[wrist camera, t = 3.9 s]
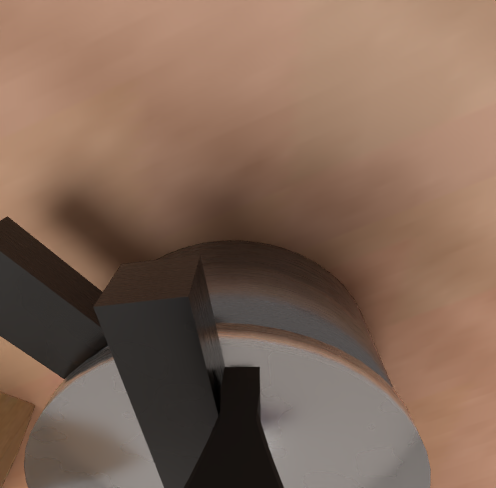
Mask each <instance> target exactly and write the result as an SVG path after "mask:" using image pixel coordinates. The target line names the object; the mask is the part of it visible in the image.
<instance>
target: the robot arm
mask: <svg viewBox="0 0 496 488" xmlns="http://www.w3.org/2000/svg"><path fill="white" fill-rule="evenodd" d="M184 488H284V486H283V484H282V481H281V479H280V476H279V473H278V471H277V468H276V465H275V463H274V460H273V457H272V455H271V452H270V449H269V446H268V443H267V440H266V437H265V433H264V430H263V427H262V424H261V404H260V367H225V368H224V373H223V379H222V385H221V400H220V413H219V416H218V418H217V420H216V423H215V425H214V427H213V430H212V432H211V434H210V437H209V439H208V441H207V443H206V445H205V447H204V449H203V451H202V453H201V455H200V457H199V459H198V461H197V463H196V465H195V467H194V469H193V471H192V473H191V475H190V477H189V479H188V481H187V483H186V484H185V486H184Z"/></svg>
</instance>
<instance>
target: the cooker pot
mask: <svg viewBox="0 0 496 488" xmlns="http://www.w3.org/2000/svg"><path fill="white" fill-rule="evenodd" d="M195 255H200V256H201V260H202V265H203V269H204V274H205V278H206V283H207V287H208V292H209V296H210V301H211V305H212V310H213V314H214V319H215V323H235V324H252V325H258V326H265V327H271V328H277V329H283V330H286V331H290V332H294V333H297V334H301V335H304V336H308V337H311V338H314V339H316V340H319V341H321V342H324V343H326V344H329V345H331V346H334V347H336V348H338V349H340V350H342V351H344V352H346V353H347V354H349V355H351V356H353V357H354V358H356V359H358V360H360V361H361V362H363V363H364V364H365V365H367V366H368V367H369V368H371V369H372V370H373V371H375V372H376V373H377V374H379V375H380V376H381V377H382V378H383V379H384V380H385V381H386V382H387V383H388V384H389V385H390V386H391V387H392V384H391V382H390V380H389V377H388V375H387V373H386V370H385V368H384V366H383V363H382V361H381V358H380V356H379V354H378V351H377V349H376V347H375V344H374V342H373V340H372V337H371V335H370V333H369V330H368V328H367V326H366V323H365V321H364V319H363V316H362V314H361V311H360V309H359V308H358V306H357V304H356V302H355V301H354V299H353V297H352V296H351V295H350V293H349V292H348V291H347V290H346V288H345V287H344V286H343V285H342V284H341V283H340V282H339V281H338V280H337V279H336V278H335V277H334V276H333V275H332V274H331V273H329V272H328V271H326V270H325V269H324V268H322V267H321V266H319V265H318V264H316V263H315V262H313V261H311V260H309V259H307V258H305V257H303V256H301V255H299V254H297V253H294V252H291V251H289V250H286V249H283V248H280V247H276V246H272V245H268V244H263V243H256V242H248V241H217V242H209V243H202V244H198V245H194V246H190V247H186V248H182V249H180V250H177V251H175V252H172V253H170V254H167V255H165V256H163V257H161V258H159V259H158V260H161V259H170V258H178V257H187V256H195ZM102 293H103V292H102V291H101V290H99V289H98V288H97V287H96V286H94V285H93V284H92V283H91V282H89V281H88V280H87V279H86V278H84V277H83V276H82V275H80V274H79V273H78V272H77V271H75V270H74V269H73V268H72V267H70V266H69V265H68V264H67V263H65V262H64V261H63V260H62V259H60V258H59V257H58V256H57V255H55V254H54V253H53V252H52V251H50V250H49V249H48V248H47V247H45V246H44V245H43V244H42V243H40V242H39V241H38V240H37V239H35V238H34V237H33V236H31V235H30V234H29V233H28V232H26V231H25V230H24V229H23V228H21V227H20V226H19V225H18V224H16V223H15V222H14V221H13V220H11V219H10V218H9V217H8V216H7V217H6V218H4V219H2V220H1V221H0V336H1V337H3V338H4V339H6V340H7V341H9V342H10V343H12V344H13V345H15V346H16V347H18V348H19V349H20V350H22V351H23V352H25V353H26V354H28V355H29V356H31V357H32V358H34V359H35V360H37V361H38V362H40V363H41V364H43V365H44V366H46V367H47V368H49V369H50V370H52V371H53V372H55V373H56V374H58V375H59V376H60V377H62V378H63V379H65V378H67V376H68V375H69V374H70V373H71V372H73V371H74V370H75V369H76V368H77V367H79V366H80V365H81V364H82V363H84V362H85V361H86V360H87V359H89V358H91V357H92V356H94V355H96V354H97V353H99V352H101V351H103V350H104V349H106V348H108V347H109V346H108V343H107V341H106V338H105V336H104V333H103V331H102V328H101V325H100V323H99V320H98V318H97V315H96V313H95V310H94V308H93V306H94V305H95V303H96V302H97V300H98V299H99V297H100V296H101V294H102ZM392 388H393V387H392Z"/></svg>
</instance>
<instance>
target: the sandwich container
mask: <svg viewBox="0 0 496 488" xmlns="http://www.w3.org/2000/svg"><path fill="white" fill-rule="evenodd" d="M34 407H35V405H34V404H32V403H29V402H26V401H24V400H21V399H18V398H15V397H13V396H10V395H7V394H5V393H2V392H0V488H1V487H2V485H3V483H4V482H5V478H6V477H7V475H8V473H9V471H10V468H11V466H12V464H13V462H14V459H15V457H16V455H17V453H18V451H19V448H20V445H21V443H22V440H23V437H24V434H25V432H26V429H27V426H28V424H29V421H30V418H31V415H32V413H33V410H34Z"/></svg>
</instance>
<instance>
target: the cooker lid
mask: <svg viewBox="0 0 496 488" xmlns="http://www.w3.org/2000/svg"><path fill="white" fill-rule="evenodd" d="M93 308H94V310H95V313H96V315H97V318H98V320H99V323H100V325H101V328H102V331H103V333H104V336H105V338H106V341H107V343H108V346H109V347H108V348H106V349H104V350H103V351H101V352H99V353H97V354H96V355H94V356H92V357H91V358H89V359H87V360H86V361H85V362H84V363H82V364H81V365H80V366H79V367H77V368H76V369H75V370H74V371H73V372H71V373H70V374H69V375H68V376H67V378H66V379H65V380H64V381H63V382H62V383H61V384H60V386H59V387H58V388H57V389H56V391H55V392H54V394H53V395H52V397H51V399H50V400H49V402H48V404H47V405H46V407H45V409H44V410H43V412H42V413H41V415H40V417H39V419H38V420H37V422H36V424H35V425H34V427H33V429H32V430H31V433H30V436H29V439H28V442H27V445H26V450H25V461H24V468H25V476H26V482H27V485H28V488H184V486H185V484H186V483H187V481H188V479H189V477H190V475H191V473H192V471H193V469H194V467H195V465H196V463H197V461H198V459H199V457H200V455H201V453H202V451H203V449H204V447H205V445H206V443H207V441H208V439H209V437H210V434H211V432H212V430H213V427H214V425H215V423H216V420H217V418H218V416H219V413H220V400H221V385H222V379H223V373H224V368H225V367H260V404H261V424H262V427H263V430H264V433H265V437H266V440H267V443H268V446H269V449H270V452H271V455H272V457H273V460H274V463H275V465H276V468H277V471H278V473H279V476H280V479H281V481H282V484H283V486H284V488H430V465H429V460H428V455H427V451H426V449H425V447H424V445H423V442H422V440H421V438H420V435H419V433H418V431H417V429H416V426H415V424H414V422H413V420H412V417H411V415H410V413H409V411H408V409H407V407H406V406H405V404H404V403H403V401H402V400H401V398H400V397H399V395H398V394H397V393H396V391H395V390H394V389H393V388H392V387H391V386H390V385H389V384H388V383H387V382H386V381H385V380H384V379H383V378H382V377H381V376H380V375H379V374H377V373H376V372H375V371H373V370H372V369H371V368H369V367H368V366H367V365H365V364H364V363H363V362H361V361H360V360H358V359H356V358H354V357H353V356H351V355H349V354H347V353H346V352H344V351H342V350H340V349H338V348H336V347H334V346H331V345H329V344H326V343H324V342H321V341H319V340H316V339H314V338H311V337H308V336H304V335H301V334H297V333H294V332H290V331H286V330H283V329H277V328H271V327H265V326H258V325H252V324H235V323H215V319H214V314H213V310H212V305H211V301H210V296H209V292H208V287H207V283H206V278H205V274H204V269H203V265H202V260H201V256H200V255H195V256H187V257H178V258H170V259H161V260H153V261H144V262H136V263H127V264H121V266H120V267H119V269H118V270H117V272H116V273H115V275H114V276H113V278H112V279H111V281H110V282H109V284H108V285H107V287H106V288H105V290H104V291H103V293H102V294H101V296H100V297H99V299H98V300H97V302H96V303H95V305H94V306H93Z"/></svg>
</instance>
